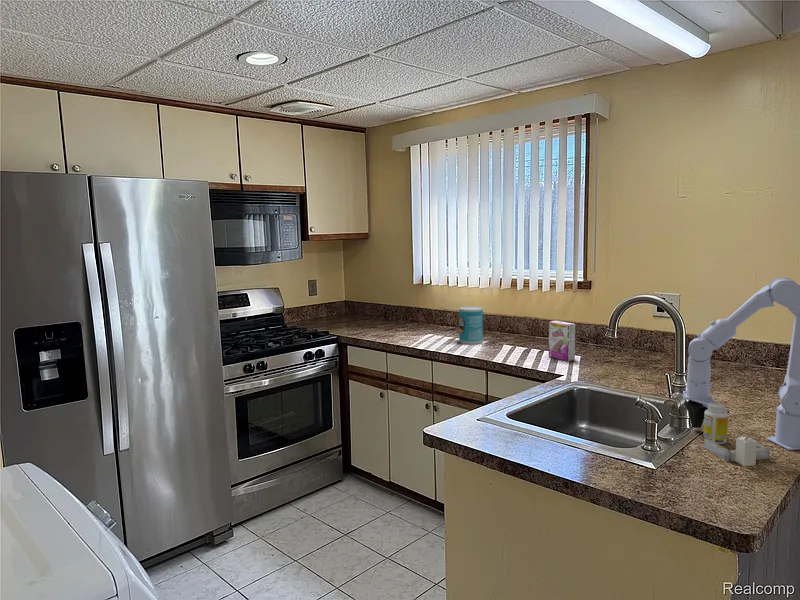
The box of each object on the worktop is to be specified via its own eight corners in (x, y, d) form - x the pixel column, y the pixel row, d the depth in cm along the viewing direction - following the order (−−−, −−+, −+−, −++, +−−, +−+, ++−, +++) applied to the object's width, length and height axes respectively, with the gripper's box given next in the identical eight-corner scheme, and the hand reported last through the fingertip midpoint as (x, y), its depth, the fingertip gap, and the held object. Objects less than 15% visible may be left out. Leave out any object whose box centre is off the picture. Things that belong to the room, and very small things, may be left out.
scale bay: (743, 444, 145) (743, 436, 145) (768, 458, 137) (769, 449, 136) (704, 447, 144) (704, 438, 144) (727, 461, 136) (728, 452, 135)
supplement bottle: (729, 440, 149) (731, 404, 147) (723, 446, 145) (725, 409, 143) (706, 435, 152) (708, 400, 151) (700, 441, 148) (702, 405, 147)
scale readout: (746, 460, 136) (747, 435, 135) (755, 465, 133) (756, 439, 132) (735, 461, 136) (736, 436, 135) (743, 466, 133) (745, 440, 132)
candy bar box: (547, 357, 247) (548, 321, 245) (555, 355, 250) (555, 320, 248) (567, 362, 238) (568, 324, 236) (575, 360, 241) (576, 323, 238)
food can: (455, 343, 281) (455, 309, 279) (464, 339, 291) (464, 305, 289) (478, 345, 275) (477, 310, 273) (486, 341, 286) (486, 306, 283)
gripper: (670, 374, 161) (668, 419, 163) (701, 388, 147) (699, 437, 149) (692, 373, 162) (690, 417, 164) (726, 387, 148) (723, 435, 149)
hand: (696, 427), depth 156 cm, fingers closed
